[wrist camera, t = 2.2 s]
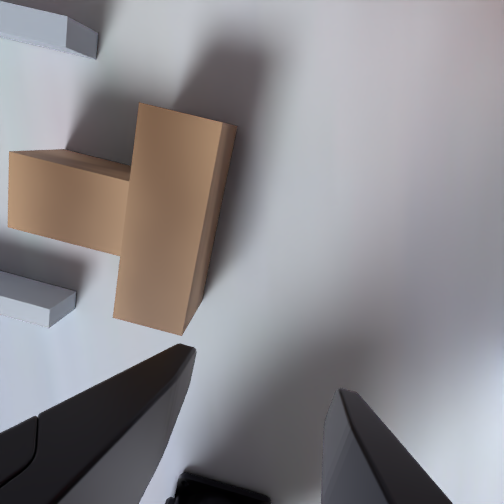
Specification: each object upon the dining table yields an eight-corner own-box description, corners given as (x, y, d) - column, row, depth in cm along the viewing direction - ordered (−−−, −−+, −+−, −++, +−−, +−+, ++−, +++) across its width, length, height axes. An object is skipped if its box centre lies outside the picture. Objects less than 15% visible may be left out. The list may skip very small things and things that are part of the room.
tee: (237, 126, 18) (222, 122, 15) (201, 301, 22) (181, 335, 18) (67, 85, 19) (10, 71, 15) (56, 263, 22) (6, 289, 18)
